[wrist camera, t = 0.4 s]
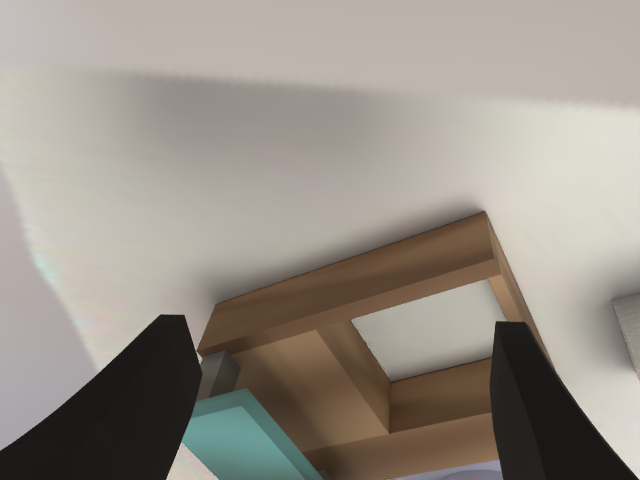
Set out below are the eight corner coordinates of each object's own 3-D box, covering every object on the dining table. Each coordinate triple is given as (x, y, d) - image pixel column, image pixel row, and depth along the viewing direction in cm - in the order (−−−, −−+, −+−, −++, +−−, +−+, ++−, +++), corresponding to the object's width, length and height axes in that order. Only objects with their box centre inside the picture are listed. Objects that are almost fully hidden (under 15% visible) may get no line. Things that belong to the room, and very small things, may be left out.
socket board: (564, 390, 27) (601, 531, 22) (325, 441, 32) (306, 567, 27) (485, 211, 22) (508, 336, 17) (215, 304, 27) (165, 425, 22)
